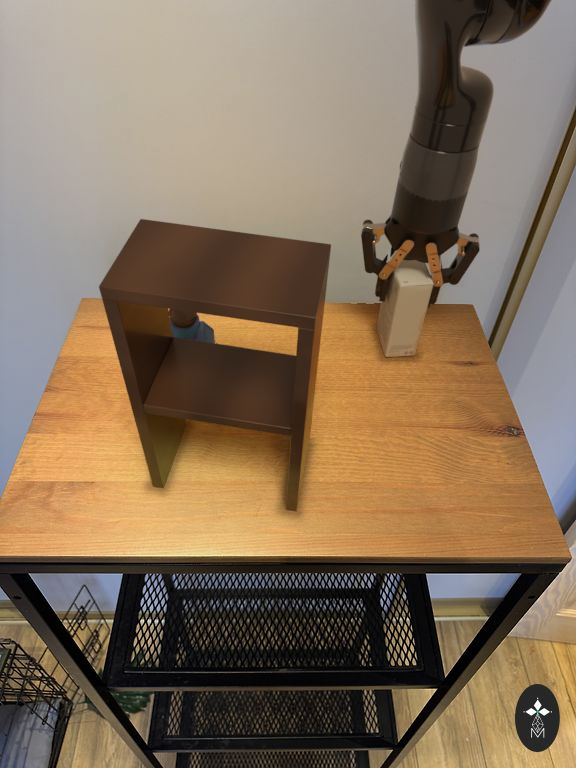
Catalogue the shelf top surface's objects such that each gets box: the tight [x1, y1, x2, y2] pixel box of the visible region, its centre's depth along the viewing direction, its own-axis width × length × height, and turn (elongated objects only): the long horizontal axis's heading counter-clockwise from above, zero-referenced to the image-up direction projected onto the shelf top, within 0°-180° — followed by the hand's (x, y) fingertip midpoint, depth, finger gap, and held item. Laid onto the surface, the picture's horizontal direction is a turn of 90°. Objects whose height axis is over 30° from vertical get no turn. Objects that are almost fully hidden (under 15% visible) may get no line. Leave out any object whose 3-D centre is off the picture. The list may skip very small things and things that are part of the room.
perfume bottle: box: [168, 308, 216, 343], centre depth 68 cm, size 6×6×12 cm
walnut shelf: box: [98, 218, 332, 513], centre depth 54 cm, size 16×9×28 cm, turn 80°
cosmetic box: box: [376, 260, 434, 358], centre depth 75 cm, size 6×4×12 cm
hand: (404, 300), depth 74 cm, fingers closed on cosmetic box, 5 cm apart
